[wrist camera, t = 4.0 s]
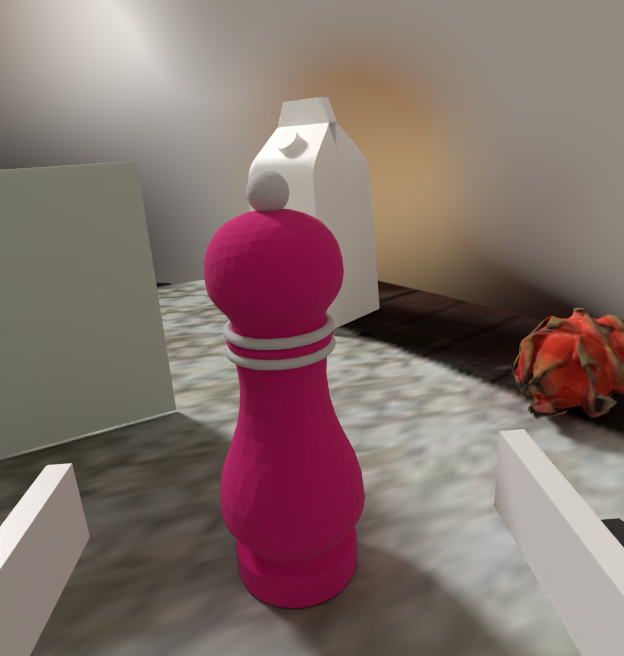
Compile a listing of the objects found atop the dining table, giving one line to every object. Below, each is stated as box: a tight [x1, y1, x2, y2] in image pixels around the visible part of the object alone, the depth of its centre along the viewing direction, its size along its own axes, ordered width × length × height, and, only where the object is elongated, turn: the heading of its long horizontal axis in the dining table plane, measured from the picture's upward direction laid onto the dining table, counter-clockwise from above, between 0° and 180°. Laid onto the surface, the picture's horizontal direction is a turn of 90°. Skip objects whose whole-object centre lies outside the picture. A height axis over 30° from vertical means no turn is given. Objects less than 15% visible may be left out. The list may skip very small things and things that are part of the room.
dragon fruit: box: [511, 308, 624, 418], centre depth 41 cm, size 8×8×12 cm
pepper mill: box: [204, 170, 365, 608], centre depth 25 cm, size 7×7×20 cm
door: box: [0, 162, 176, 457], centre depth 38 cm, size 3×20×20 cm, turn 118°
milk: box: [248, 97, 379, 329], centre depth 65 cm, size 12×12×26 cm
